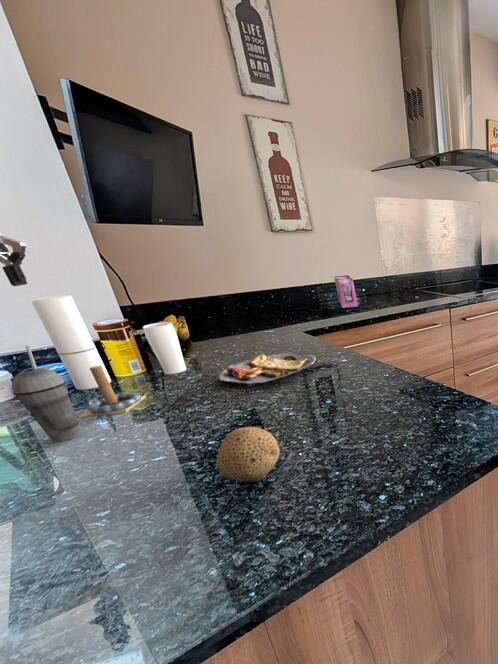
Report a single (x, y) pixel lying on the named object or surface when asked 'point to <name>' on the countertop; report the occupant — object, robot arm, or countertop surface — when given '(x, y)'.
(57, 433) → the beverage cup
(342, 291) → the gum box
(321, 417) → the countertop surface
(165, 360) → the drinking glass
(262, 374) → the food plate
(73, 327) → the cylindrical container
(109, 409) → the ring
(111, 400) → the ring stand
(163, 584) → the countertop surface
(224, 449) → the natural sponge
